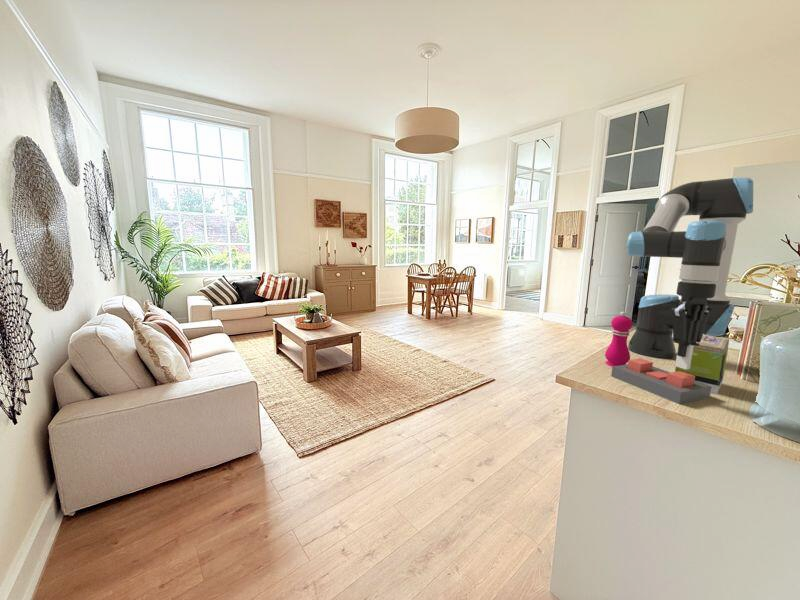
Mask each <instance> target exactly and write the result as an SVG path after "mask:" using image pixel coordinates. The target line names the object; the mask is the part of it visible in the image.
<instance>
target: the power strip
mask: <svg viewBox="0 0 800 600" xmlns="http://www.w3.org/2000/svg"><path fill="white" fill-rule="evenodd" d="M627 367H628V363H626V365H619V366H613V367H612V366H611V372H610V373H611V375H610V377H612V378H614V379H616V380H619V381H621V382H624V383H626V384H629V385H631V386H634V387H636V388H639V389H641V390H643V391H645V392H649V393H651V394H653V395H655V396H657V397H660V398H663V399H666V400H668V401H671V402H673V403H676V404H678V405H681V404H686V403H690V402H691V403H692V402H695V401H699V400H705V399H709V398H710V397H711V387H712V386H709V385H706V384H703V383H700V382H697V381H694V386H690V387H685V388H680V387H678V386H675V385H672V384H669V383H667V382H666V379H663V380H658V379H656V378H653V377H650V376H648V375H646V373H647V372H642V373H639V372H637V371H634V370H631V369H628V368H627ZM653 371H660V372H663V373H666V374H667V373H671V371H668V370H665V369H661V368H658V367H656V366H652V371H648V372H653Z"/></svg>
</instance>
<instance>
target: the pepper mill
mask: <svg viewBox="0 0 800 600" xmlns="http://www.w3.org/2000/svg"><path fill="white" fill-rule="evenodd" d="M610 324H611V325H610V326H611V327H612V330H611V334H612V340H611V342H610V344H609V345H608V347H607V348H606V349H605V352H604V357H605V358H606V361H605V364H606V365H607V366H609V367H611V368H612V367H613V366H619V365H626V364H628V360H631V354H630V350H629V349H628V337H629V336H630V330H631V329H632V328H633V320H632V319H631V318H630V317H628V316H627V313H626V312H625V311H620V313H619V315H618V316H615V317H613V318H612V320H611V322H610Z"/></svg>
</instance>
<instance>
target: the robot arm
mask: <svg viewBox="0 0 800 600" xmlns="http://www.w3.org/2000/svg"><path fill="white" fill-rule="evenodd" d="M654 210H655V211H654V212H653V214H652V216H651V217H650V218H649V221H648V222H647V224H646V225H645V226H644V228H643V230H642V231H641V230H639V231H633V232H630V233H629V235H628V236H627V241H626V253H627V254H628V255H629V256H632V257H640V258H643V257H646V258H647V257H651V258H653V257H654V258H679V259H682V260H681V264H680V268H679V277H678V279H679V280H680V281H678V283H677V286H676V294H649V295H648V294H647V295H644V296H642V297H641V298H640V301H639V305H638V307H637V308H638V312H637V317H636V319H637V320H636V327H635V331H634V333H633V335H632V336H631V338H630V340H629V342H628V343H627V347H628V350H629V351H631V352H634V353H636V354H639V355H643V356H648V357H653V358H663V359H672V358H674V357H676V359H675V365H674V366H676V367H679V368H683V369H686V370H687V369H690V365H691V359H692V353H693V348H694V345H695V346H699V343H696V342H700V341H701V339H702V336H703V335H708V336H714V337H720V336H722V335H724V334H725V333H726V330H727V328H728V326H729V323H730V320H731V318H732V315H733V312H734V310H735V307H736V306H735V305H734V304H733V303H730V301H731V298H729V296H727V295H726V291H727V287H728V281H729V274H730V268H731V265H732V259H733V258H732V257H733V253H734V249H735V248H734V247H735V242H736V237H737V231H738V226H739V224H740V223H743V222H744V221H745V220H746V218H747V214H748V215H749V214H753V212H754V180H753V178H751V177H731V178H722V179H721V178H719V179H712V180H711V179H710V180H702V181H692V182H687V183H685V184H681V185H679V186H675V187H673V188H672V189H670V190H669V191H667V192H665V193H664V194H663V195H662V196H661V197H660V198H659V199H658V201H656V203H655V206H654ZM685 216H699V217H698V218H699V219H698V220H697V221H692V222H690V223H689V224H688V225H687V228H686V231H679V230H678V231H675V229H676V227H677V226H678V223H679V222H680V219H681V218H682V217H685ZM727 280H728V281H727ZM680 297H681V299H680ZM675 344H677V345H678V346H677V350H676V347H675Z"/></svg>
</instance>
